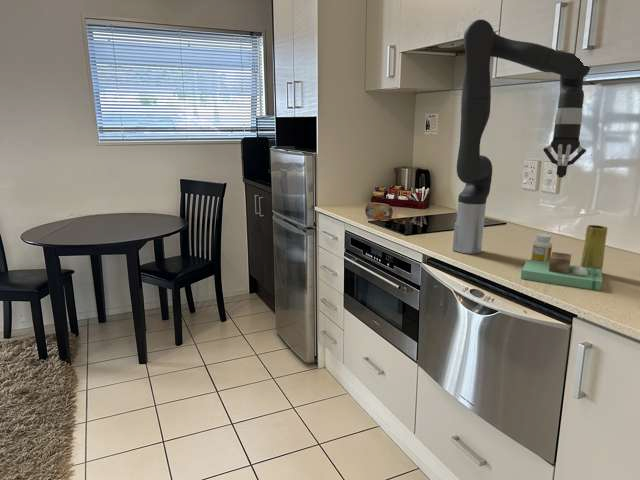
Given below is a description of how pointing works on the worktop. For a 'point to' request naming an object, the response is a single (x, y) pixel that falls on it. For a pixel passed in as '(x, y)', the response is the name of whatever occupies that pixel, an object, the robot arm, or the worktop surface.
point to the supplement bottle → (542, 248)
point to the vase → (594, 247)
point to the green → (562, 275)
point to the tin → (379, 211)
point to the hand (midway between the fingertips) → (560, 177)
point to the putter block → (560, 262)
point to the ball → (580, 271)
